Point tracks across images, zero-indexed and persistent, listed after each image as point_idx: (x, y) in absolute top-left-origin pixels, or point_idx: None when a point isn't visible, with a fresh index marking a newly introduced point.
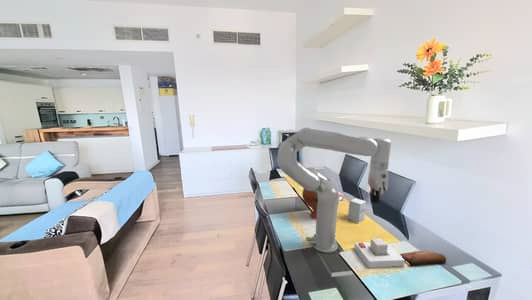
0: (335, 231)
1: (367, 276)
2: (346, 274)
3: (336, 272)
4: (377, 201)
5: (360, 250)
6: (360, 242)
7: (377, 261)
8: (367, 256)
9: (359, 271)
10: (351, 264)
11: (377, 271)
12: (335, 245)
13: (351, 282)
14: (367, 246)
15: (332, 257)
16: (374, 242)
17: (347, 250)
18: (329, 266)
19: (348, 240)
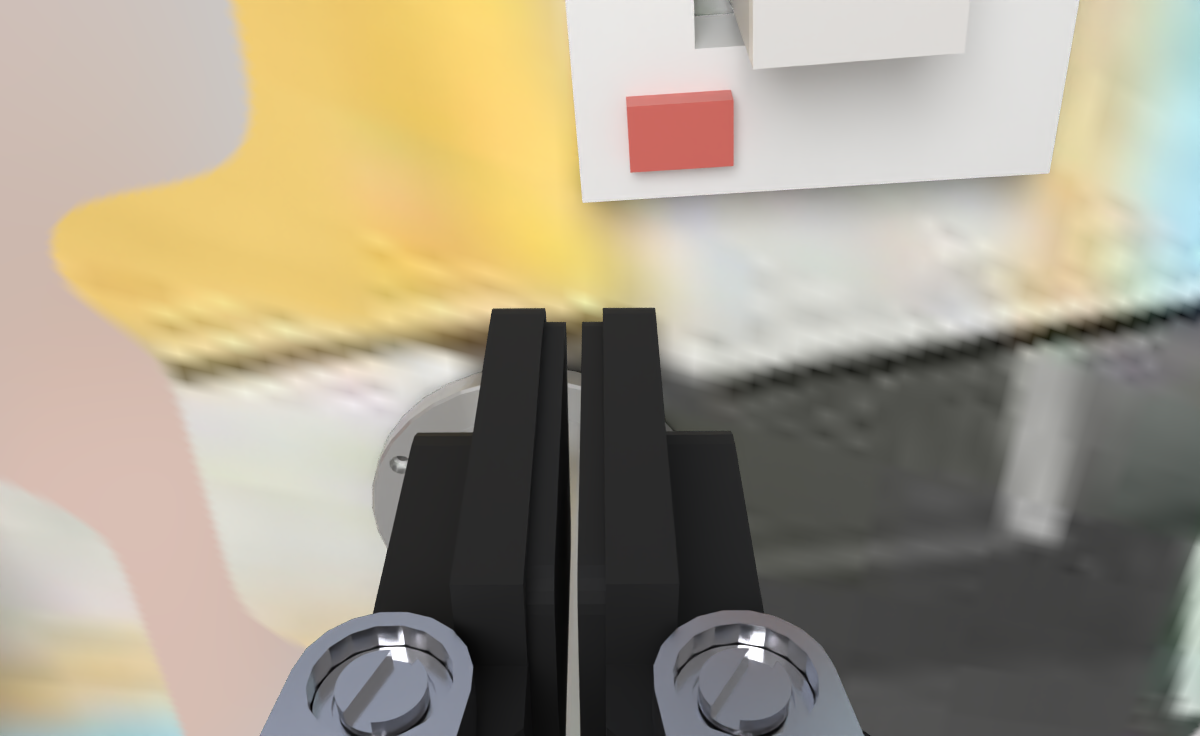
0: (574, 569)
1: (1154, 218)
2: (1066, 415)
3: (1015, 491)
4: (730, 449)
5: (778, 186)
6: (576, 109)
7: (1065, 52)
8: (943, 155)
9: (1055, 272)
10: (921, 315)
11: (1109, 54)
12: (579, 413)
13: (1185, 406)
14: (692, 40)
15: (772, 467)
16: (870, 58)
17: (638, 268)
18: (916, 527)
19: (376, 170)
